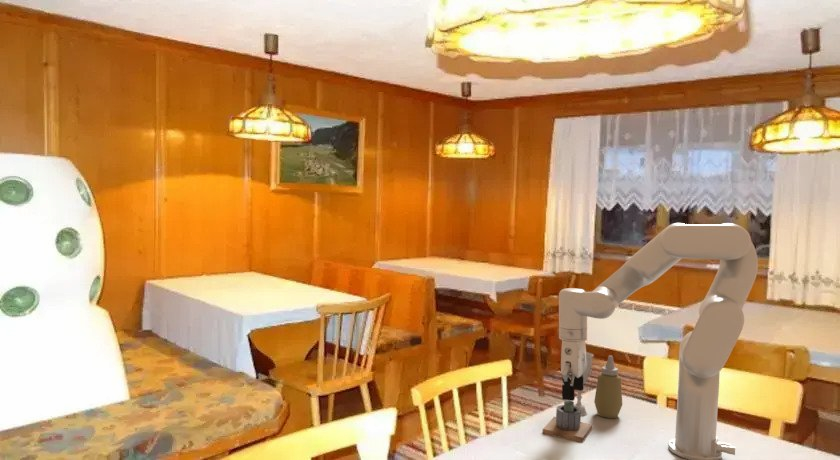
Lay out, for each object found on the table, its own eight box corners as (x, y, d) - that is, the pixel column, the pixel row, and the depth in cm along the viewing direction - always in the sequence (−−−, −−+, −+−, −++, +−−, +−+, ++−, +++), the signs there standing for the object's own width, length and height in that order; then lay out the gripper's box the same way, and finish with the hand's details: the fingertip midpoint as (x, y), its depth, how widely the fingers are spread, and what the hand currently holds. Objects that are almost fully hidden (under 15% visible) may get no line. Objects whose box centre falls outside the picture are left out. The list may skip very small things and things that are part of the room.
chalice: (588, 409, 186) (591, 351, 185) (593, 417, 179) (595, 357, 178) (564, 408, 186) (567, 350, 185) (567, 416, 180) (570, 356, 179)
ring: (582, 425, 169) (583, 407, 169) (576, 432, 164) (577, 414, 163) (559, 420, 172) (560, 403, 172) (553, 427, 167) (554, 410, 167)
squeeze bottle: (620, 411, 184) (623, 353, 183) (623, 421, 177) (626, 360, 176) (593, 409, 186) (595, 351, 185) (594, 418, 178) (597, 358, 177)
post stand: (592, 428, 170) (593, 400, 170) (582, 442, 161) (584, 411, 160) (554, 420, 176) (555, 392, 175) (542, 433, 166) (543, 403, 166)
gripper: (578, 341, 157) (578, 406, 158) (593, 328, 172) (593, 388, 173) (550, 338, 161) (550, 401, 161) (567, 326, 176) (567, 384, 177)
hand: (573, 394), depth 167 cm, fingers open, 9 cm apart
